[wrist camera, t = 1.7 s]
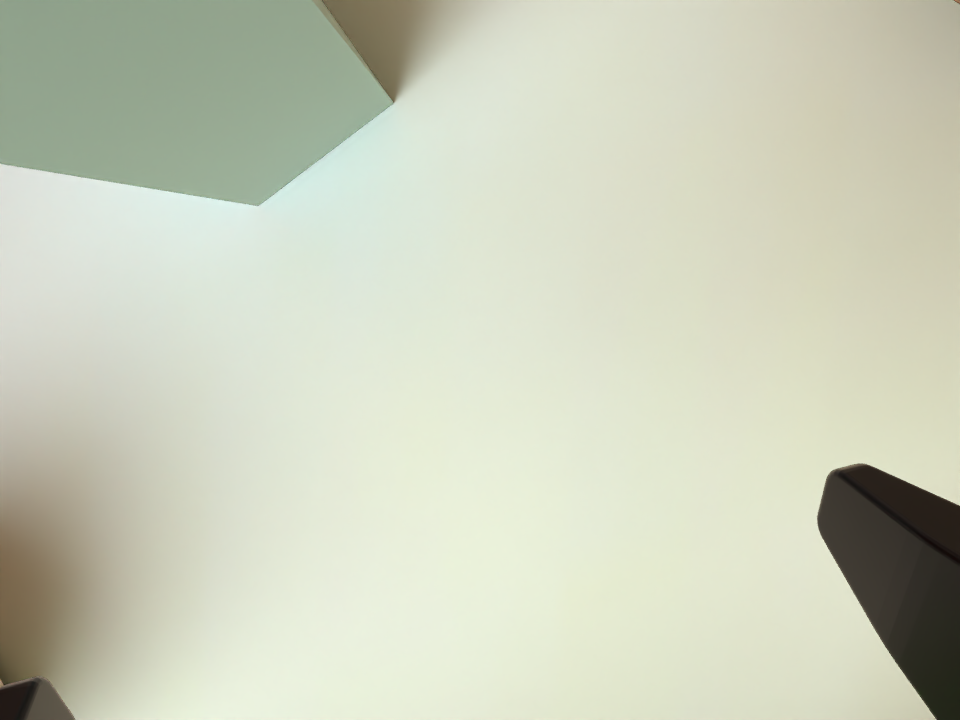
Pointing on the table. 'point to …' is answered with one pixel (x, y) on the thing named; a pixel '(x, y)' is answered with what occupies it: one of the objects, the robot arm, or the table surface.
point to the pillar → (180, 92)
